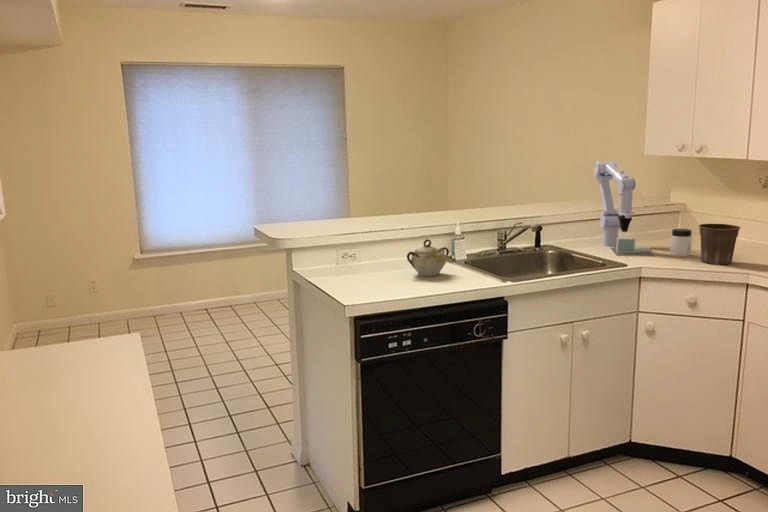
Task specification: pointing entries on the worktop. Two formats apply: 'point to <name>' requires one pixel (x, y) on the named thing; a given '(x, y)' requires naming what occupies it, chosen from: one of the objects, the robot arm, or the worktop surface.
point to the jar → (681, 242)
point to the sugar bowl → (428, 259)
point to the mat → (637, 253)
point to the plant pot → (718, 243)
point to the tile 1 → (625, 245)
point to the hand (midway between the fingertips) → (624, 231)
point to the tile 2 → (642, 248)
